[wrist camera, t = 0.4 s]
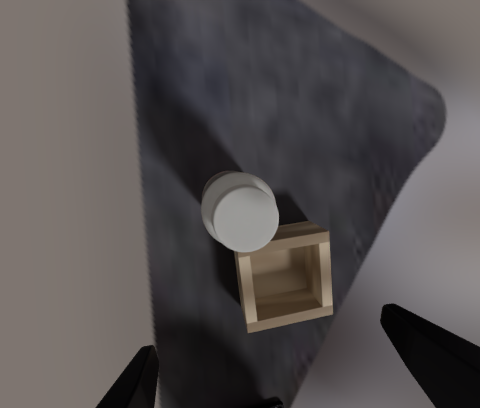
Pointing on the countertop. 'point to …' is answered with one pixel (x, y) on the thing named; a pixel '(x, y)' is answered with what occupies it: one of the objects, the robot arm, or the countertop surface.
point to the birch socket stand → (286, 278)
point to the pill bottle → (239, 211)
